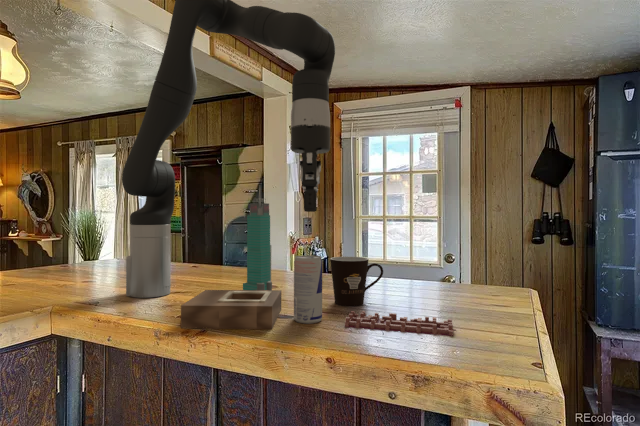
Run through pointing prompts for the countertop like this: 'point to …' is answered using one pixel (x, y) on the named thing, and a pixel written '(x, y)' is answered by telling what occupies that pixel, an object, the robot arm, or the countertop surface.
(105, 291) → the countertop surface
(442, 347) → the countertop surface
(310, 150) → the robot arm
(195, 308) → the holder board
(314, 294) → the energy drink
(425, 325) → the chocolate bar
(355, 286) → the coffee mug
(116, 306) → the countertop surface
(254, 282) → the building
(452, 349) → the countertop surface
